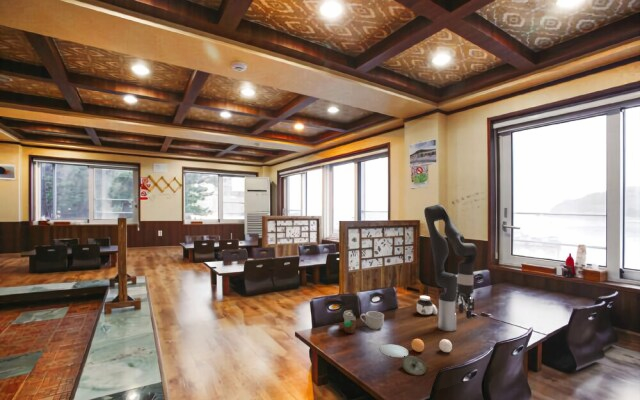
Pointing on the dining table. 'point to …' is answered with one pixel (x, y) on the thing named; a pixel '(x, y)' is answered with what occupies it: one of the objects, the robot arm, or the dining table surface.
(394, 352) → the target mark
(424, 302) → the spread jar
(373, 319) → the teacup
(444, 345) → the cue ball
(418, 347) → the object ball
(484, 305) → the dining table surface
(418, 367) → the lid
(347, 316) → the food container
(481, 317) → the dining table surface
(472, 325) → the dining table surface
